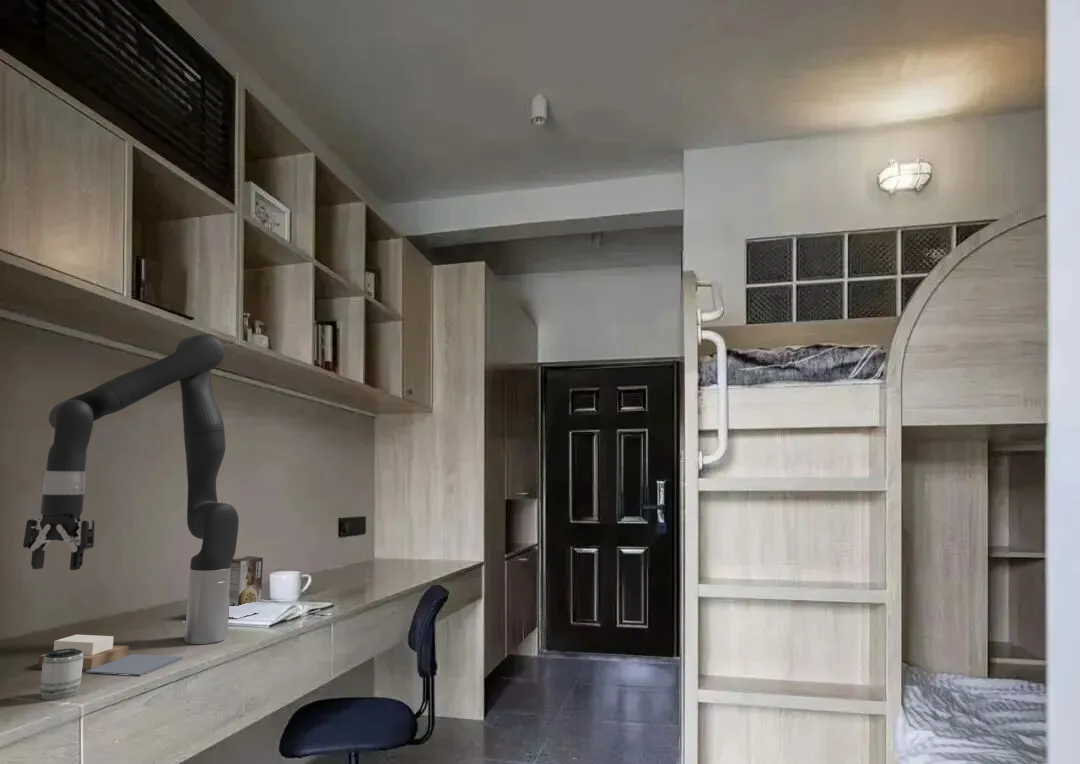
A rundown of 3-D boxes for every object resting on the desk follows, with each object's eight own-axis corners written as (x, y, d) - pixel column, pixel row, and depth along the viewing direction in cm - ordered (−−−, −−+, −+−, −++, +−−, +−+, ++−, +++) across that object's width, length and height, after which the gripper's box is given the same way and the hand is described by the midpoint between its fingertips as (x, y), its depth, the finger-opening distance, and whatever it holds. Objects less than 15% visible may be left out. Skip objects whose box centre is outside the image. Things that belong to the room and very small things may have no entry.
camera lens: (33, 696, 129) (38, 651, 130) (72, 688, 134) (76, 645, 135) (46, 703, 125) (50, 657, 126) (85, 694, 130) (89, 650, 131)
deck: (78, 655, 158) (79, 643, 158) (128, 657, 156) (129, 645, 156) (38, 668, 147) (39, 655, 147) (90, 671, 145) (92, 658, 146)
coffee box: (243, 611, 209) (247, 555, 211) (260, 613, 207) (264, 556, 209) (219, 617, 200) (223, 559, 203) (237, 619, 198) (241, 560, 200)
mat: (132, 655, 158) (132, 654, 158) (182, 658, 156) (182, 656, 156) (85, 673, 144) (85, 671, 144) (139, 676, 142) (139, 674, 142)
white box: (75, 646, 155) (76, 634, 156) (112, 648, 154) (113, 636, 155) (53, 653, 149) (54, 640, 150) (92, 655, 148) (93, 642, 149)
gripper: (106, 492, 156) (99, 567, 154) (46, 491, 157) (39, 566, 155) (81, 493, 149) (74, 572, 146) (19, 492, 150) (10, 570, 148)
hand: (56, 569), depth 151 cm, fingers open, 8 cm apart
